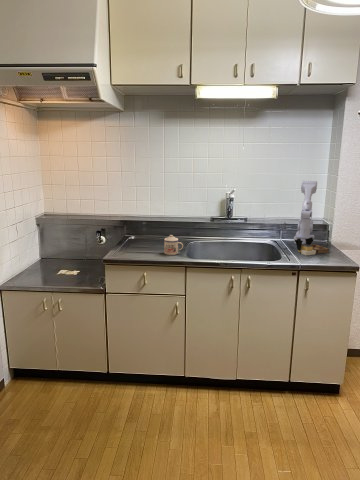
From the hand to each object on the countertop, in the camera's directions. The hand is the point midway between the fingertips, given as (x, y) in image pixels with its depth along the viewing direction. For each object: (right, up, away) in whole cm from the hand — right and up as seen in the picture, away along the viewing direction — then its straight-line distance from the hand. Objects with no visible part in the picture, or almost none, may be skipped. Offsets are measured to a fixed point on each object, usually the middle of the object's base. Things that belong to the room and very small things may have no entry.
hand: (303, 249), depth 235 cm
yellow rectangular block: (+1, -2, -1) cm, 3 cm away
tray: (+10, 0, +4) cm, 11 cm away
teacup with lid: (-83, -2, -7) cm, 84 cm away
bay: (+2, -2, -4) cm, 5 cm away
